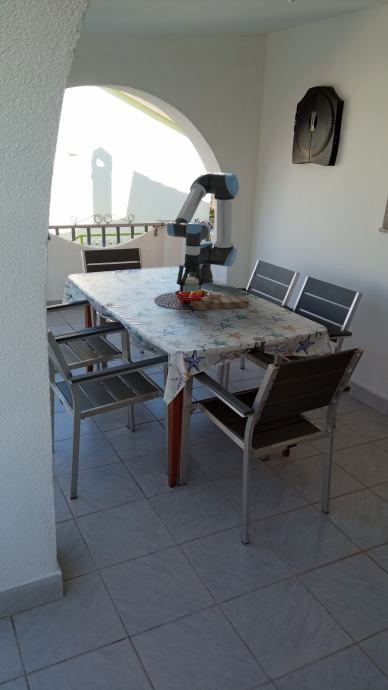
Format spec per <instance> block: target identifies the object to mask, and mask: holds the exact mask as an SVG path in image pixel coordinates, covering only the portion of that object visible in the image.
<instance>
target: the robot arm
mask: <svg viewBox="0 0 388 690" xmlns="http://www.w3.org/2000/svg"><path fill="white" fill-rule="evenodd" d="M239 186H240V185H239V180H238V177H237V175H236V174H234V173H230V172H215V171H208V172H204V173H202V174H201V175H199V176H198V177H197V178H195V180H194V181H192V183H191V185H190V188H189V190H190V191H189V193H188V196H187V197H186V198H185V201H184V203H183V205H182V207H181V209H180V211H179V212H178V214H177V217H176V219H175V221H169V222H168V223H167V226H166V233H167V235H168V236H170V237H174V238H183V239H185V248H184V249H185V250H184V263H183V264H179V265H178V274H177V279H176V285H179V292H180V293H181V292H185V286H184V283H185V280H186V279H187V276H192V277H196V278H198V280H199V283H198V288H197V290H200V291H201V287H202V285H203V284H205V283H210V282H213V280H214V275H213V272H212V268H211V267H212V265H214V266H221V267H229V268H230V267H232V266H233V265H234V264H235V261H236V258H237V254H238V250H237V248H236V247H234V246H235V245H234V242H233V241H232V219H233V218H232V216H233V215H232V213H233V200H235V198H236V197H237V196H238V193H239ZM207 194H211V195H213V196H214V198H213V199H215V200H216V241H215V242H214V243H213V242H212V241H204V240H206V239H207V238H208V237H210V234H211V229H210V227H209V226H208V225H207V224H204V223H200V222H195V221H192V220H193V218H194V215H195V213H196V211H197V210H198V209H199V208H198V207H199V205H200V203H201V201H202V199H204V198H205V197H206V196H207ZM235 196H236V197H235ZM202 240H203V241H202ZM184 268H185V269H184Z"/></svg>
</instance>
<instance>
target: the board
mask: <svg viewBox="0 0 388 690" xmlns="http://www.w3.org/2000/svg"><path fill="white" fill-rule="evenodd" d="M189 305H190V306H192V307H193V308H194V310H195V309H196V310H195V311H203V310H205V311H206V310H219V309H232V308H243V307H249V300H248V299H246V298H244V297H242V296H240V295H235V296H234V295H232V296H222V302H219V303H214V302H212V301H209V300H205V301H203V302H202V301H191V303H190V304H189ZM189 305H188V306H189ZM190 306H189V307H190ZM192 307H191V308H192ZM193 308H192V309H193Z"/></svg>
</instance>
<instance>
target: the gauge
mask: <svg viewBox="0 0 388 690" xmlns="http://www.w3.org/2000/svg"><path fill="white" fill-rule="evenodd" d="M222 297H223V294H222V293H219V292H216V291H211V292H208V296H203V297H200V298H201V300H202V302H203V301H205V300H209V301H212V302H214V303H219V302H222Z"/></svg>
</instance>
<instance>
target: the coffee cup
mask: <svg viewBox="0 0 388 690" xmlns="http://www.w3.org/2000/svg"><path fill="white" fill-rule="evenodd" d="M198 283H199V280H198V278H196V277H192V276H189V275H188V276H187V279H186V280H185V283H184V286H185V292H191V291H195V290H197V288H198Z"/></svg>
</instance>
